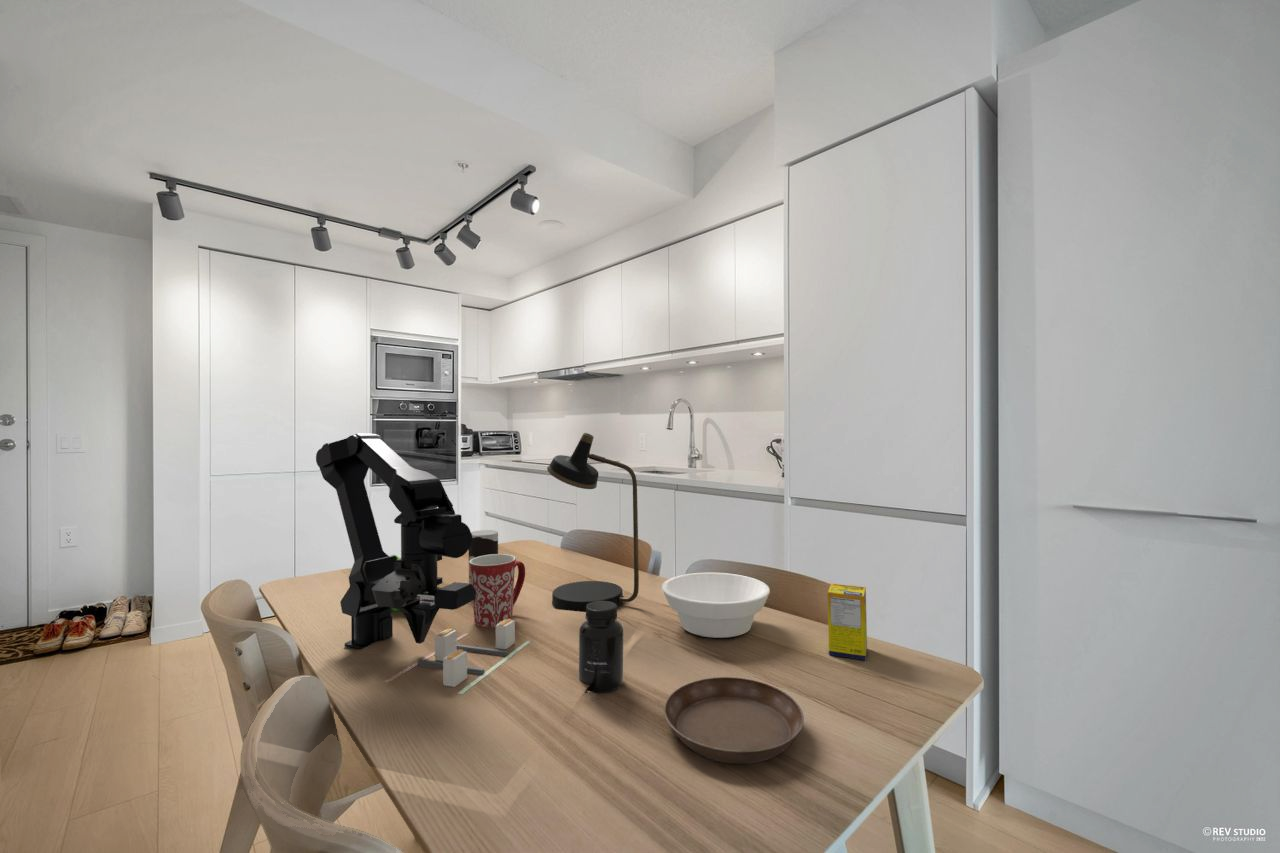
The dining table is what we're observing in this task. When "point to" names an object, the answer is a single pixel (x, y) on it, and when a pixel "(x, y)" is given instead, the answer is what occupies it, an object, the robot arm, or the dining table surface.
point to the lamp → (586, 477)
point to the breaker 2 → (505, 634)
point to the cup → (483, 545)
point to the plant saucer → (734, 719)
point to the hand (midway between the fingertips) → (420, 642)
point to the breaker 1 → (455, 668)
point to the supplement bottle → (601, 648)
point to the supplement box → (847, 621)
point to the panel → (469, 669)
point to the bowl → (716, 602)
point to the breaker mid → (445, 643)
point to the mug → (495, 587)
